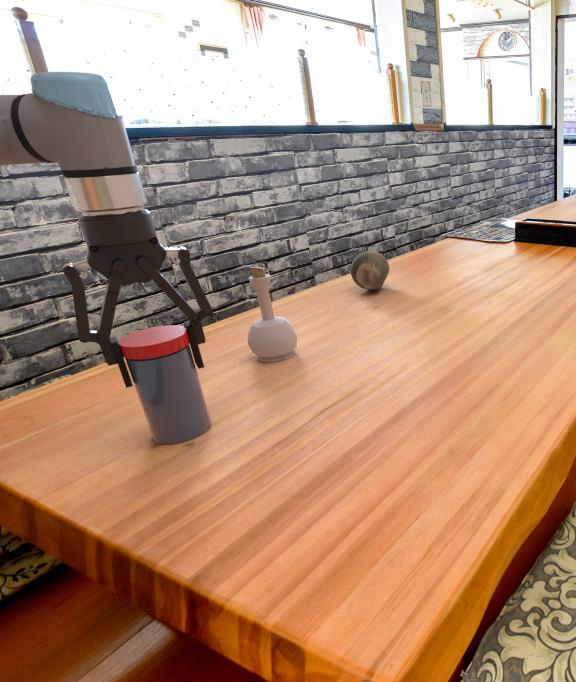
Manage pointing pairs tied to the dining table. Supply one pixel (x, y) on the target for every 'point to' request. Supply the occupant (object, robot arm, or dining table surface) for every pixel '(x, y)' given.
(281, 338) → the potion bottle
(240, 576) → the dining table surface
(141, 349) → the lid
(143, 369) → the grey storage canister
